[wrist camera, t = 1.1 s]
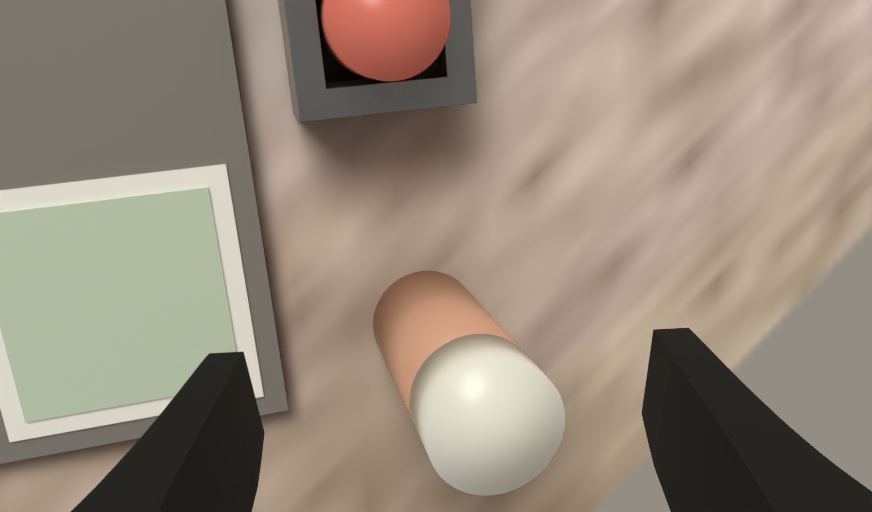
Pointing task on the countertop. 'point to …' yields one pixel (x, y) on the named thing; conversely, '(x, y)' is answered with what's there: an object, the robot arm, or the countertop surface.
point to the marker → (467, 386)
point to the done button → (385, 35)
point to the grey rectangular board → (122, 219)
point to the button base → (319, 100)
